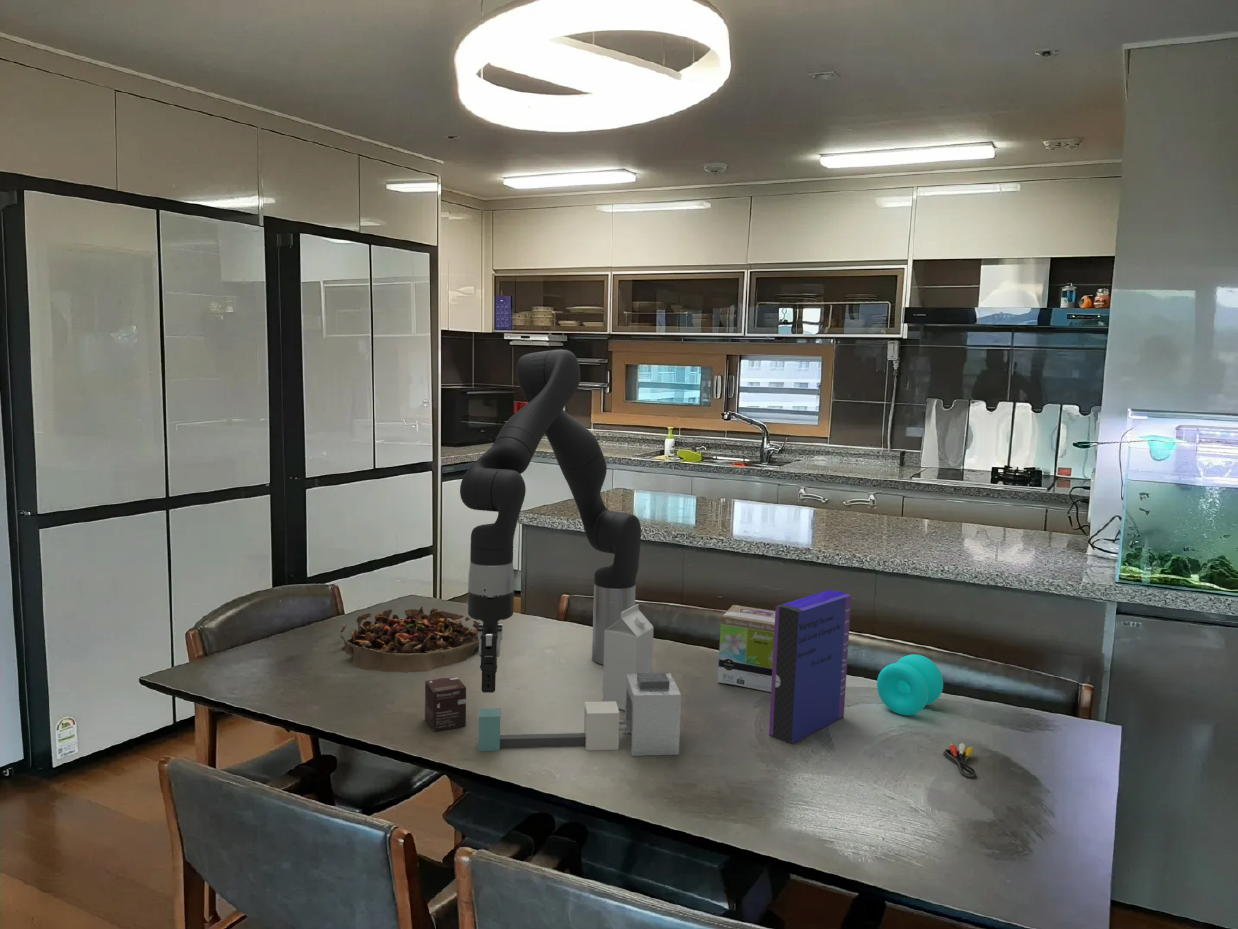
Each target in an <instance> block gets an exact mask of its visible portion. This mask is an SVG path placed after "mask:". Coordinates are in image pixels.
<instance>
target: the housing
mask: <svg viewBox="0 0 1238 929" xmlns="http://www.w3.org/2000/svg"><path fill="white" fill-rule="evenodd" d="M681 709H682V693H681V691H680V690H679V687H678V686H677V682H676V681H675V679H674V677H673V676H672V673H671V672H668V673H666V672H652V673H637V674H626V699H625V710H624V720H625V724H624V725H627V730H623V731H624V733H625V734H631V740H630V741H631V742H630V743H631V744H630V754H631V756H632V757H638V756H641V757H642V756H645V757H646V756H674V755H675V756H678V755H680V735H681V734H680V733H681V712H682V710H681Z"/></svg>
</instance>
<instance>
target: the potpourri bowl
mask: <svg viewBox="0 0 1238 929" xmlns="http://www.w3.org/2000/svg"><path fill="white" fill-rule="evenodd" d="M424 611H425V610H424V609H423V606H420V608H419V609H417V608H413V609H411V608H408V609H405V610H404V613H405V614H404V615H405V616H406V617H405V618H403V617H401V618H400V617H399V616H398V614H397V613H395V614H392V613H393V610H392V609H387V610H384V611H383V612H382V613H377V614H375V616H374V621H373V622H374V623H372V621H370V620H367V619H368V618H371V617H372V615H373V614H372V613H370V612H369V613H364V614H361V615H359V616H357V618H356V620H355V621H356V623H357V629H358V630H356V629H353V631H352V633H351V638H349V639H347V640H345V636H344V635H343V634H342V633H343V632H344V630H345V629H346V627H347V623H343V625H342V626H341V628H340V629H339V630H340V631H339V632H340V633H339V637H340V639H342V640H343V644H344V651H345V652H346V653H347V654H348V655H349V656H350V657H352V662H351V664H352V665H353V666H356V667H358V668H359V669H362V670H364V671H365V670H368V671H372V670H373V671H379V672H381V673H404V674H405V673H406V674H407V673H421V672H422V673H423V672H431V671H433V670H435V669H439V668H443V667H448V666H452V665H454V664H458V663H461V662H465V661H466V660H468V658H469V657H471V656H472V657H473V655H474V653H475V650H477V649H479V640H478V629H479V624H481V622H478V621H477V620H473V624H472V628H471V629H470V628H469V627H468V626H464V625H463V622H462V620H461V619H463V618H464V617H465V615H463V614H457V613H452V612H447V611H443V610H438V608H432V609H430V612H429V614H426V613H425V612H424ZM391 615H392V616H391ZM390 616H391V618H390ZM449 619H451V621H450V620H449ZM470 619H471V617H468V616H466V617H465V618H464V620H465V622H467V621H469V620H470ZM363 620H364V621H363ZM457 620H459V622H458V621H457ZM362 622H363V623H362Z"/></svg>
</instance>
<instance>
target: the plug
mask: <svg viewBox="0 0 1238 929" xmlns="http://www.w3.org/2000/svg"><path fill="white" fill-rule="evenodd" d="M583 712H584V718H583V720H584V722H583V732H575V733H574V732H569V733H532V734H531V733H529V734H528V733H527V734H523V733H521V734H501V717H502V716H501V713H502V712H501V707H488V708H487V707H485V708H482V707H479V714H478V752H497V751H498V752H499V751H500V750H501V749H517V748H518V749H522V748H524V749H525V748H551V747H552V748H553V747H554V748H557V747H559V748H561V747H563V748H564V747H585V751H612V750H613V751H614V750H615V751H617V750H619V741H620V739H619V737H620V736H619V735H620V731H624V730H627V725H625V719H620V709H618V706H617V703H616V701H605V702H603V701H584V711H583Z"/></svg>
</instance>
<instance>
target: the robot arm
mask: <svg viewBox="0 0 1238 929" xmlns="http://www.w3.org/2000/svg"><path fill="white" fill-rule="evenodd" d="M516 376H517V382H518V385H519V388H520V390H521V392H522V395H523V397H524V398H525V399H524V400H525V401H526V402H527V403H526V404H525V405H524V406H522V407H521V408H520V409H518V410H517V411H516V412H515V413H513V415H511V417H509V419H508V420H507V421H506V422H504V424H503V425H502V427H501V428H500V431H499V433H498V434H497V436H496V438H495V440H494V442H493V444H492V445H491V447H490V448H489V449H488V450H487V451H485V452H484V453H483V454H482V455H481V456H480V457H479V458H478V459H476V460H475V461H474V462H473V463H472V464H471V465H470V466H469V467H468V469H467V471H466V472H465V473H464V475H463V477H462V480H461V482H460V486H459V494H460V495H459V496H460V499H461V501H462V503H463V504H464V506H466V507H467V508H468V509H470V510H474V511H483V512H495V513H496V512H497V518H496V520H495V522H493V523H486V524H479V525H477V526H475V527H474V528H473V529H472V530H471V532H470V533H471V534H470V556H469V557H470V558H469V561H470V562H469V569H468V584H467V586H468V589H467V614H468V616H469V618H470V619H474V621H481V622H482V623H480V624H479V629H478V640H479V648H478V656H479V657H480V665H479V669H480V672H481V692H482V693H488V694H489V693H494V692H496V682H497V681H496V679H497V678H496V676H497V671H498V657H500V656H501V643H502V639H503V624H499V621H501V620H502V621H504V620H508V619H509V618H511V617H512V616H513V615H514V604H515V603H514V601H515V599H514V598H515V595H514V594H515V570H514V538H515V533H516V530H517V529H516V528H517V525H518V520H519V517H520V514H521V510H522V507H523V503H524V501H525V497H526V491H527V489H526V488H527V487H526V483H525V480H524V478H523V476H522V475H521V474H523V473H524V472H525V471H526V470H528V467H529V465H530V464H531V463H530V462H531V461H532V459H533V456H534V454H535V453H536V450H537V448H538V447H539V444H540V442H541V441H542V439H543V437H544V435H545V436H546V437H547V440H548V442H549V445H550V447H551V449H552V451H553V454H554V456H555V459H556V461H557V464H558V466H559V468H560V470H561V472H562V475H563V476H564V479H565V481H566V482H567V485H568V487H569V490H570V492H571V494H572V497H573V499H574V502H575V504H576V507H577V509H578V513H579V516H580V519H581V523H582V526H583V529H584V532H585V535H586V538H587V540H588V543H589V544H590V546H591V547H592V548H593V549H594V550H596V551H597V552H603V553H606V554H607V553H608V554H613V555H614V558H613V562H612V564H611V565H607V566H603V567H600V568H598V569H596V571H595V572H594V576H593V610H592V611H593V614H592V615H593V616H592V641H591V642H592V643H591V646H592V648H591V658H592V659H591V660H592V661H593V662H595V663H598V664H599V665H603V666H604V632H605V630H606V629H607V628H608V627H610V626H611V625H612V624H614V623H615V622H616V621H618V620H619V619H620V618H621V612H623V611H625V610H627V609H629V608H631V607H633V606H635V605H636V586H637V585H636V581H637V574H638V571H639V566H640V565H639V564H640V552H641V541H642V527H641V522H640V519H639V518H638V516H636V515H635V514H632V513H626V512H620V511H613V510H609V508H607V507H606V504H604V501H603V499H602V495H601V492H602V488H603V485H604V482H605V479H606V477H607V472H608V471H607V467H608V466H607V462H606V459H605V456H604V453H603V451H602V449H601V446H600V442H599V441H598V439H597V438H596V436H595V435H594V434H593V433H592V432H591V431H590V430H589V429H588V428H587V427H585V426H584V425H583V424H582V423H580V422H579V421H578V420H576V419H575V418H574V417H572V416H571V415H570V414H568V412H566V410H565V407H566V406H567V405H568V403H569V402H570V401H571V399H572V398H573V397H574V395H575V394H576V392H577V390H578V388H579V385H580V382H581V368H580V364H579V361H578V359H577V356H576V355H575V354H574V353H573V352H572V351H571V350H568V349H552V350H545V351H537V352H530V353H526V354H524V355H522V356H521V357H520V358H519V359H518V360H517V363H516Z"/></svg>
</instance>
